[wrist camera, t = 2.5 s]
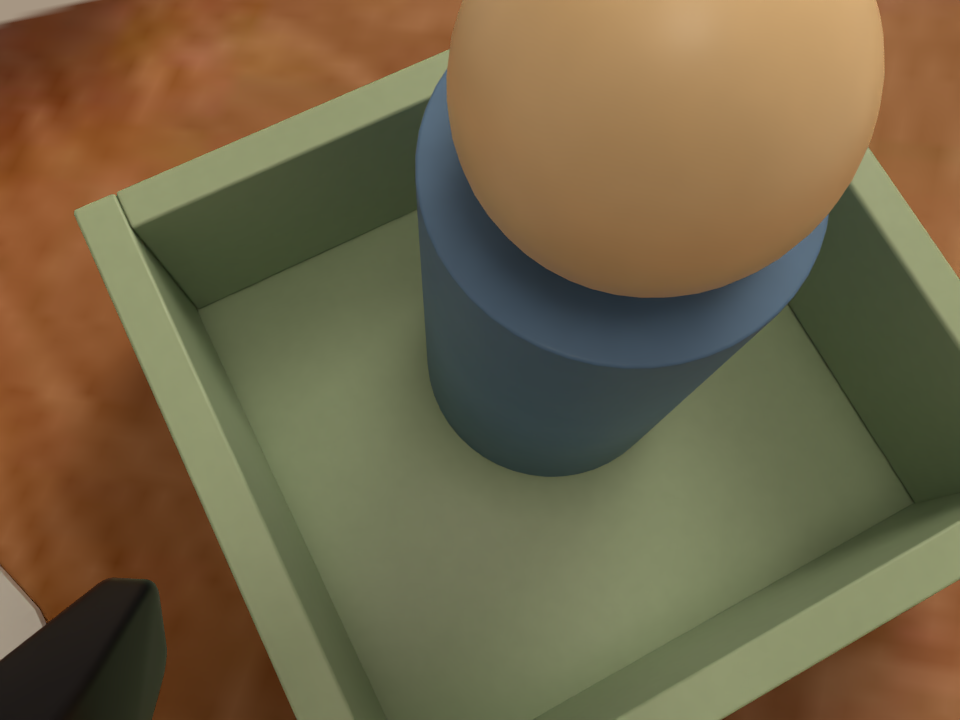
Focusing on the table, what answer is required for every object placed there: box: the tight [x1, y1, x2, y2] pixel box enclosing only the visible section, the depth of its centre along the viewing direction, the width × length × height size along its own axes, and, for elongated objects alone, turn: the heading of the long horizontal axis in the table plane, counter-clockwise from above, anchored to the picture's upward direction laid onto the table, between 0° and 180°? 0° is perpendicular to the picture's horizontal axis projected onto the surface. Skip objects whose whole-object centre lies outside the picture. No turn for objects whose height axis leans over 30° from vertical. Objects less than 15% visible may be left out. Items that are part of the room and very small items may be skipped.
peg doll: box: [415, 0, 884, 477], centre depth 14 cm, size 5×5×13 cm
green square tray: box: [74, 49, 960, 720], centre depth 18 cm, size 14×13×6 cm
